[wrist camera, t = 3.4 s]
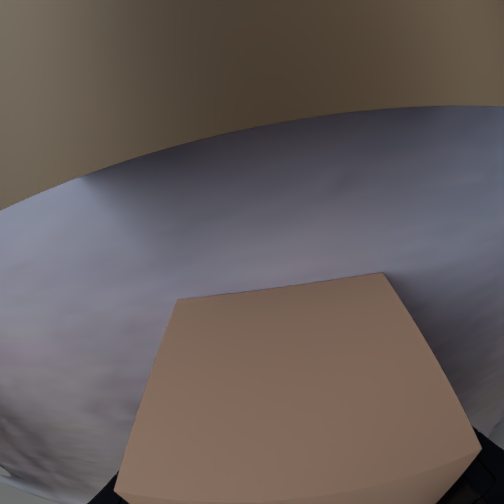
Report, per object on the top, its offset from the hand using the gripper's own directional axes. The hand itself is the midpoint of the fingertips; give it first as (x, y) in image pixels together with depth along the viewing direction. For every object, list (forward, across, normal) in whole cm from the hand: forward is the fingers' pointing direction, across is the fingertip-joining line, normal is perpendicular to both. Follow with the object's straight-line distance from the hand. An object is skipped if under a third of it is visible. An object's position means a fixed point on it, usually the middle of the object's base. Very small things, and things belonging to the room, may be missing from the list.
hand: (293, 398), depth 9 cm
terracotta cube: (+2, 0, 0) cm, 2 cm away
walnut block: (+2, 0, -12) cm, 13 cm away
